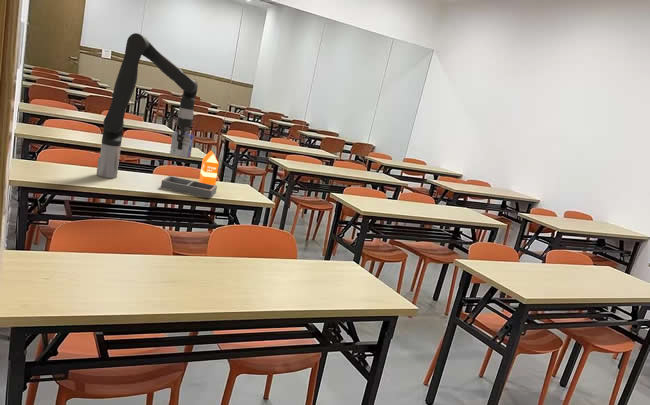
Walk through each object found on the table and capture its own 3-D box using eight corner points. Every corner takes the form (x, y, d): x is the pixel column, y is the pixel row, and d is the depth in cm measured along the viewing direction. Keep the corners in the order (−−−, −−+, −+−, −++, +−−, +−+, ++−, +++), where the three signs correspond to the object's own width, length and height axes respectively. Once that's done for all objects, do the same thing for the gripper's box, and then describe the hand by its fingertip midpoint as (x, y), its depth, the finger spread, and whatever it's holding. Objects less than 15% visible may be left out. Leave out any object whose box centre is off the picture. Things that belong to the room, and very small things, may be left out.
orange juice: (211, 183, 291) (217, 151, 287) (214, 187, 284) (220, 154, 279) (198, 182, 288) (203, 149, 283) (201, 186, 280) (207, 152, 275)
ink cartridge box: (191, 157, 263) (194, 130, 259) (187, 158, 257) (191, 131, 254) (173, 153, 263) (176, 126, 259) (169, 154, 257) (172, 127, 254)
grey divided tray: (160, 187, 258) (161, 180, 257) (168, 182, 272) (169, 175, 271) (210, 198, 260) (211, 190, 259) (215, 192, 273) (217, 185, 272)
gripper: (182, 114, 262) (178, 145, 266) (174, 116, 248) (170, 149, 252) (196, 117, 262) (192, 148, 266) (188, 119, 248) (184, 151, 252)
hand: (181, 148), depth 259 cm, fingers closed on ink cartridge box, 5 cm apart
